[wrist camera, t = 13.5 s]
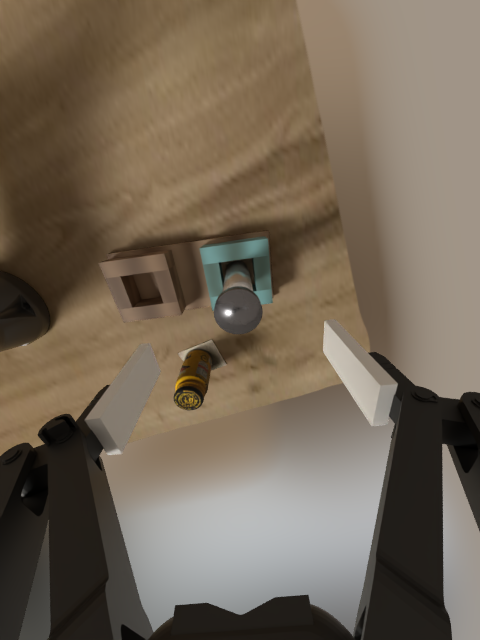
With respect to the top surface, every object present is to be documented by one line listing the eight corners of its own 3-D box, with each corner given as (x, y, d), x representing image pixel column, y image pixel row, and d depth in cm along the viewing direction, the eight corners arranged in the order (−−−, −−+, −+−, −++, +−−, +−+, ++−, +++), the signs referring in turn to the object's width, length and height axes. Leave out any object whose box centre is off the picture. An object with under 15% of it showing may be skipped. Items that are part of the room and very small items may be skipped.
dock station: (133, 314, 43) (121, 326, 38) (109, 253, 37) (91, 258, 33) (272, 296, 41) (277, 306, 37) (267, 230, 36) (272, 232, 32)
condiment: (177, 352, 47) (160, 393, 36) (211, 339, 46) (204, 377, 35) (194, 376, 50) (182, 420, 39) (226, 363, 49) (224, 406, 38)
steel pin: (225, 286, 39) (218, 336, 23) (221, 259, 37) (209, 293, 21) (252, 283, 39) (264, 331, 23) (249, 255, 37) (260, 286, 21)
